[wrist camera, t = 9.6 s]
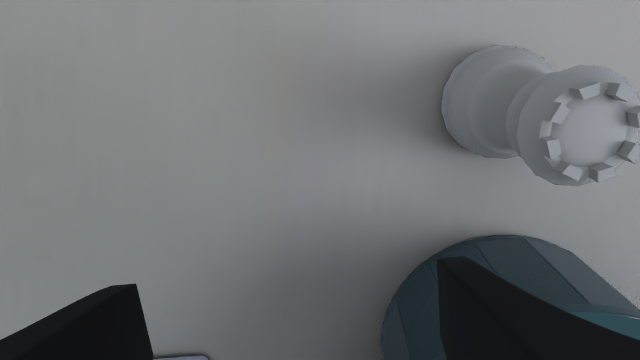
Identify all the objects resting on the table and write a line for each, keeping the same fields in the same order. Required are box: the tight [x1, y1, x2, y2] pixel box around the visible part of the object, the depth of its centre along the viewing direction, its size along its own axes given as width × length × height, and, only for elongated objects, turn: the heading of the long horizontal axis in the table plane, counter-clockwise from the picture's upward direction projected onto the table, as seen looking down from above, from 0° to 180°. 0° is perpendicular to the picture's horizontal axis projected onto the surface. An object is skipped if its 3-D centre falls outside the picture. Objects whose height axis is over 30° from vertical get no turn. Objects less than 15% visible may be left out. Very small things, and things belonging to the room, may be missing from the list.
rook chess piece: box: [441, 46, 640, 186], centre depth 15 cm, size 4×4×8 cm
